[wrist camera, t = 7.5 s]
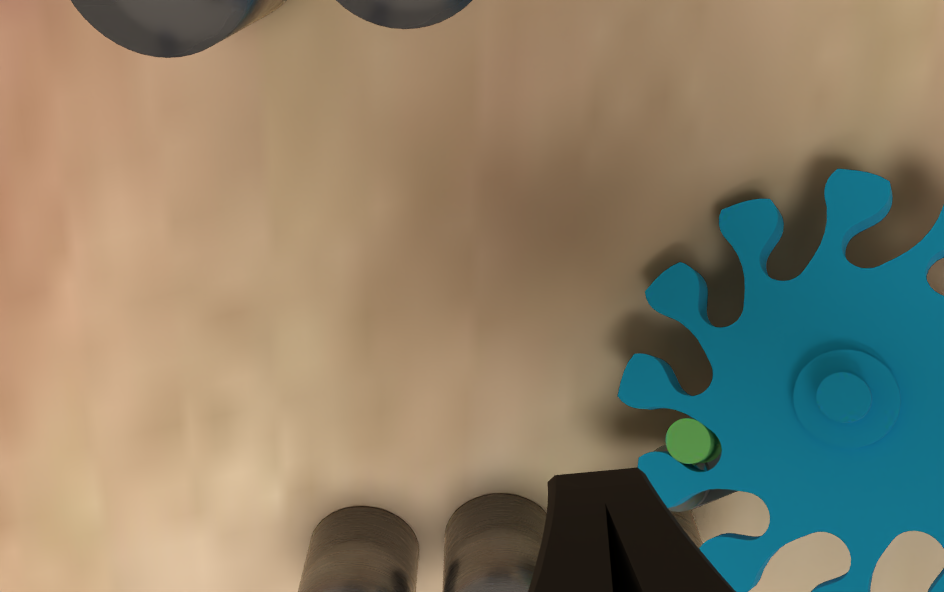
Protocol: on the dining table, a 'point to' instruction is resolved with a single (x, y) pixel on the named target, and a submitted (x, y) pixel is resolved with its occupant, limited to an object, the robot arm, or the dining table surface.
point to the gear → (808, 391)
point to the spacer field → (358, 528)
